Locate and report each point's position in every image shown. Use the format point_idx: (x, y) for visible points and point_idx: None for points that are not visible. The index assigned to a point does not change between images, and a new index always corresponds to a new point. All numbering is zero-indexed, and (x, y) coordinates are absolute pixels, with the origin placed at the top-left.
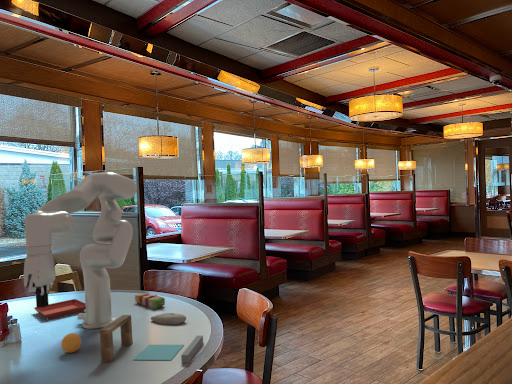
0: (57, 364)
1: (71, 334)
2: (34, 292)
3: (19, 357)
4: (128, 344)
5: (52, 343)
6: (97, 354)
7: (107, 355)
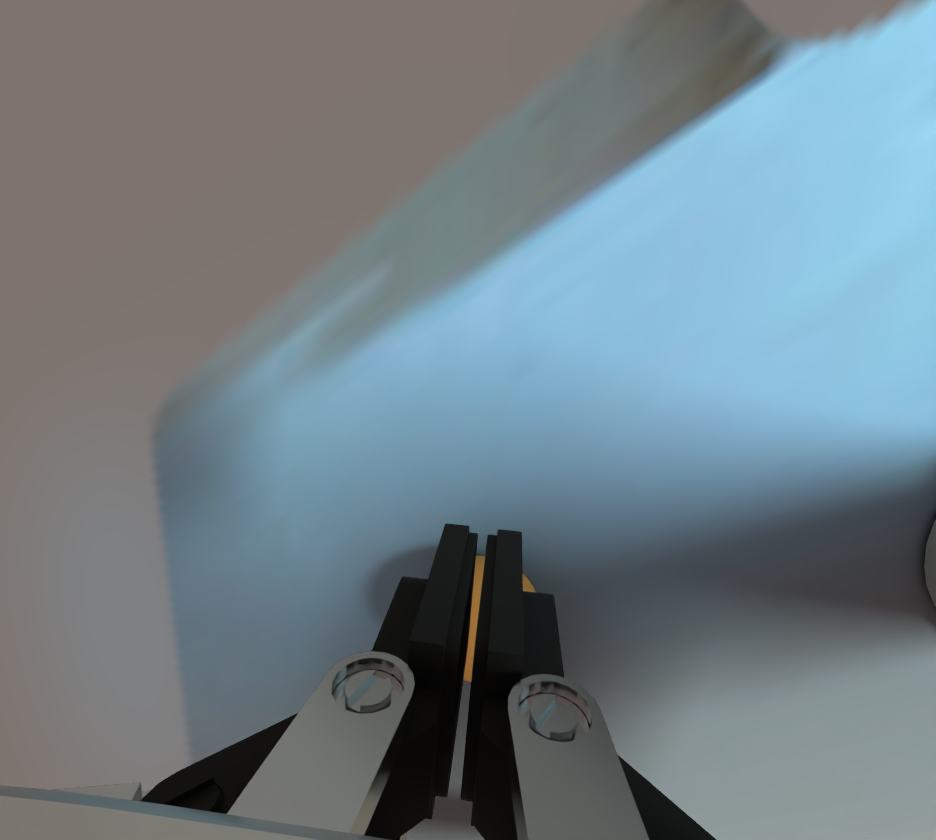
0: (324, 582)
1: (465, 666)
2: (216, 773)
3: (421, 298)
4: None
5: (656, 385)
6: None
7: None
